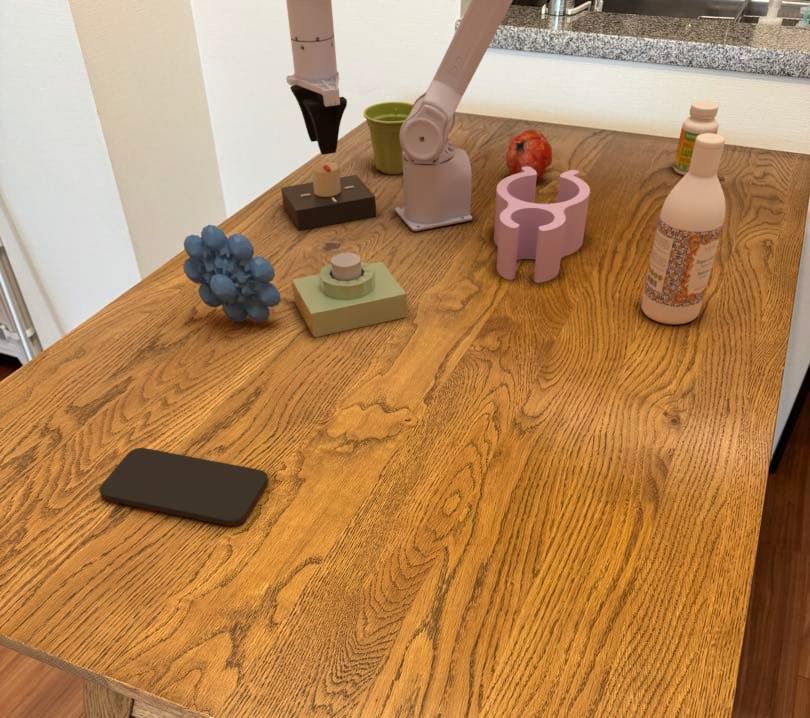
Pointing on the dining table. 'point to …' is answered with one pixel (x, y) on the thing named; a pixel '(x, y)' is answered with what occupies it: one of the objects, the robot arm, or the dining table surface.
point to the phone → (185, 486)
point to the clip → (538, 223)
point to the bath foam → (687, 238)
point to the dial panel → (328, 204)
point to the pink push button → (346, 267)
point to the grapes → (230, 274)
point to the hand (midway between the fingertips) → (323, 146)
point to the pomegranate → (529, 153)
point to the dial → (326, 179)
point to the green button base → (349, 299)
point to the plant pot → (387, 134)
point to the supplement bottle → (694, 132)
